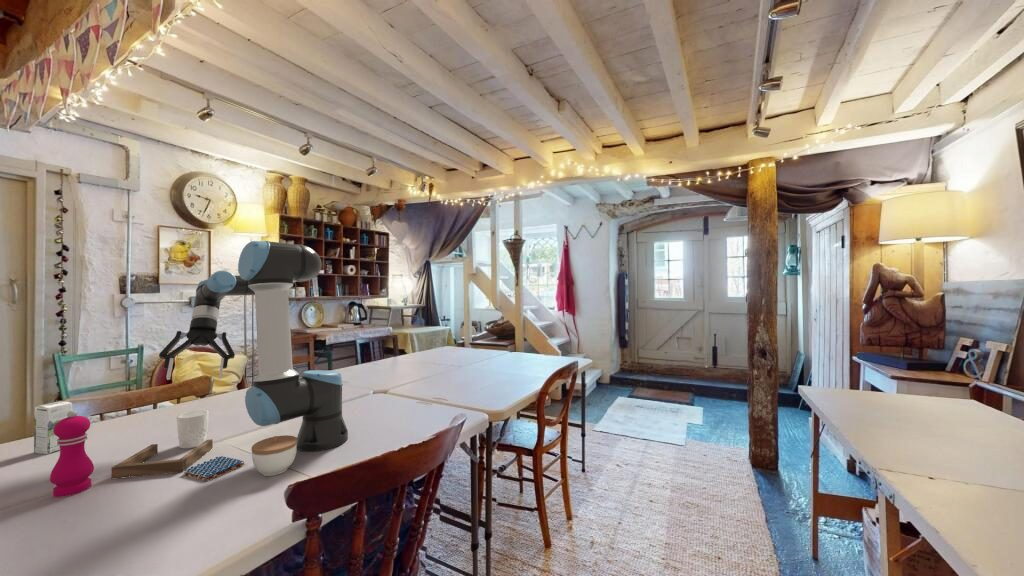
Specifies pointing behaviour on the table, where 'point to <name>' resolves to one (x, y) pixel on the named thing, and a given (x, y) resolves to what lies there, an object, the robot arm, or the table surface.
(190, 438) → the white cup
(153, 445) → the walnut bay
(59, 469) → the pepper mill
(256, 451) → the lidded jar
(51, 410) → the syrup box
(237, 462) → the woven mat
